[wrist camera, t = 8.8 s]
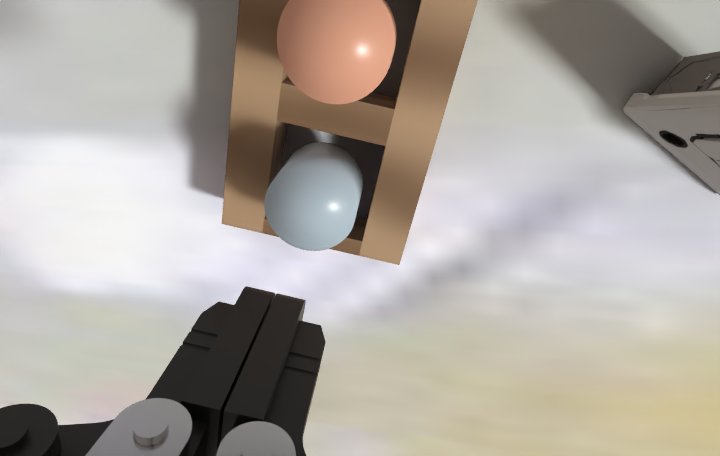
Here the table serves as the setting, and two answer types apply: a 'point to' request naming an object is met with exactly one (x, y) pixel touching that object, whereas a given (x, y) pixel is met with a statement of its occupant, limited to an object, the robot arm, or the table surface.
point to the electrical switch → (686, 115)
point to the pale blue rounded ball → (315, 197)
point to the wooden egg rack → (342, 122)
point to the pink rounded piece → (336, 47)
